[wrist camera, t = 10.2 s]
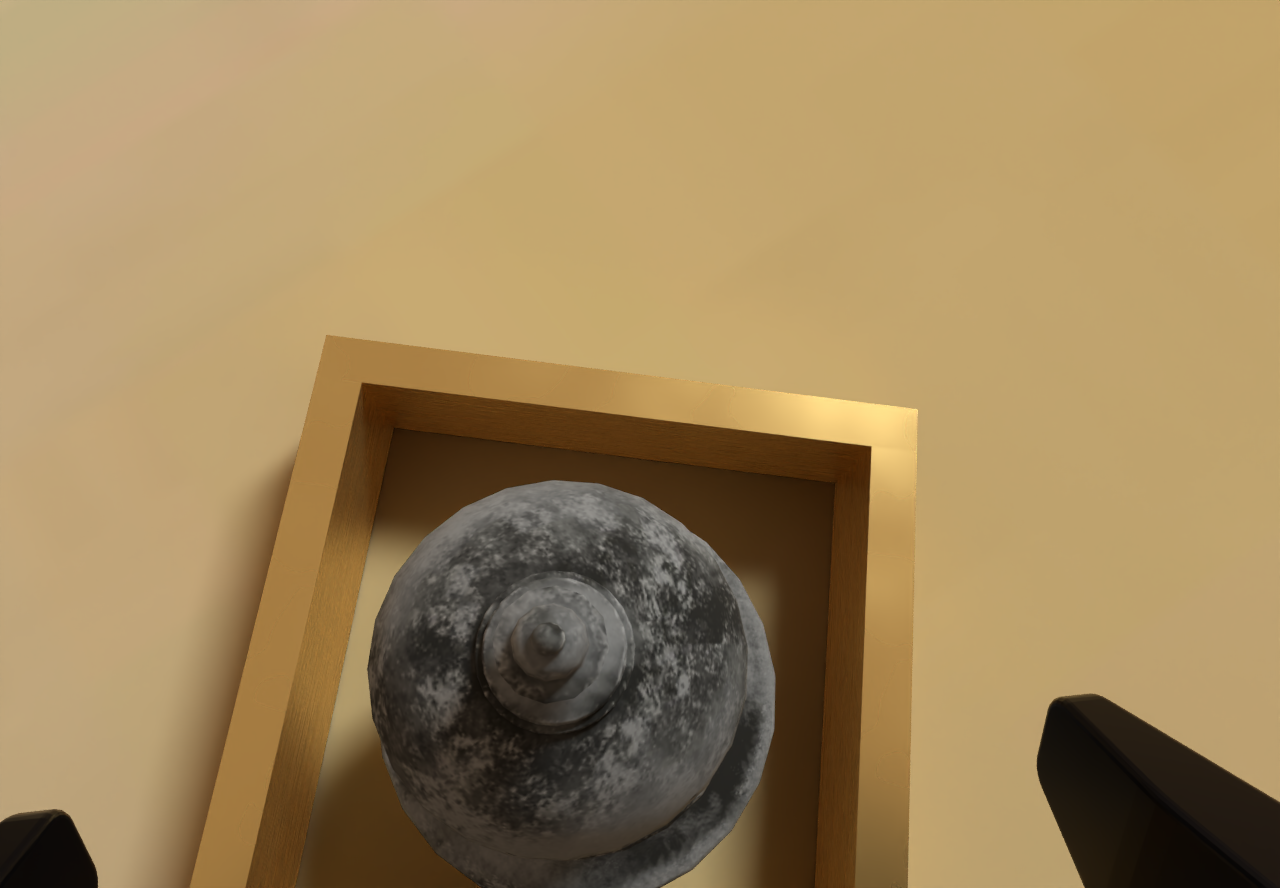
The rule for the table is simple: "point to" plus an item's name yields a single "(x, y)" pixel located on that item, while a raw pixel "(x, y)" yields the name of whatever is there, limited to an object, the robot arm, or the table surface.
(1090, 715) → the robot arm
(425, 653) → the dark grey tall piece
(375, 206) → the table surface
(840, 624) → the two-tone flat frame block
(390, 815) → the table surface
